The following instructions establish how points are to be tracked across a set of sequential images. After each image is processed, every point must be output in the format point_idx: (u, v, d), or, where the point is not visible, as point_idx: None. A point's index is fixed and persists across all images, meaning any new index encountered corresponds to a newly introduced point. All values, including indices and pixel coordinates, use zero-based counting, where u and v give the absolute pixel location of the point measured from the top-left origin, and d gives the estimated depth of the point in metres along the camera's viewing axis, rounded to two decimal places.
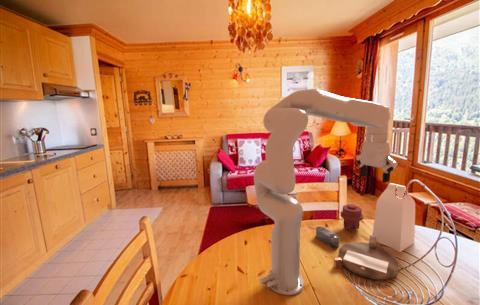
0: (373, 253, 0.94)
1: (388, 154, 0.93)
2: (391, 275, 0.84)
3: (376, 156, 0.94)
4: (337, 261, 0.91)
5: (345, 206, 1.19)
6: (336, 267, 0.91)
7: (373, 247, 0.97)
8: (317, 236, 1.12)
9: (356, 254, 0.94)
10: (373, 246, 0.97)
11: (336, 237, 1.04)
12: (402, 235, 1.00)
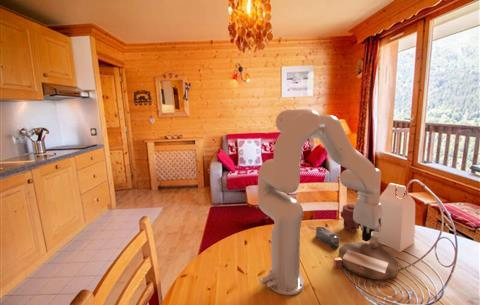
0: (373, 253, 0.94)
1: (380, 216, 0.95)
2: (390, 275, 0.83)
3: (368, 218, 0.96)
4: (337, 261, 0.91)
5: (345, 206, 1.19)
6: (336, 267, 0.91)
7: (374, 247, 0.97)
8: (317, 236, 1.12)
9: (356, 254, 0.94)
10: (374, 246, 0.97)
11: (336, 237, 1.04)
12: (402, 235, 1.00)
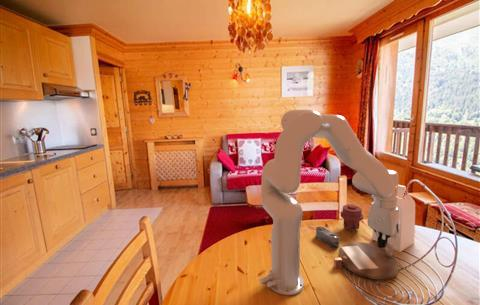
0: (378, 258, 0.91)
1: (397, 222, 0.89)
2: (365, 275, 0.84)
3: (385, 223, 0.90)
4: (337, 261, 0.91)
5: (345, 206, 1.19)
6: (336, 267, 0.91)
7: (386, 255, 0.92)
8: (317, 236, 1.12)
9: (359, 250, 0.96)
10: (386, 254, 0.92)
11: (336, 237, 1.04)
12: (402, 235, 1.00)
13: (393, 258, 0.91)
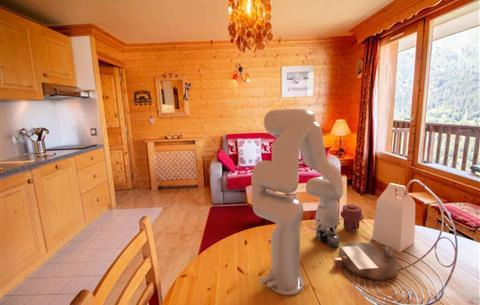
0: (378, 258, 0.91)
1: (319, 218, 1.05)
2: (365, 275, 0.84)
3: None
4: (337, 261, 0.91)
5: (345, 206, 1.19)
6: (336, 267, 0.91)
7: (386, 255, 0.92)
8: (317, 236, 1.12)
9: (359, 250, 0.96)
10: (386, 254, 0.92)
11: (336, 237, 1.04)
12: (402, 235, 1.00)
13: (393, 258, 0.91)
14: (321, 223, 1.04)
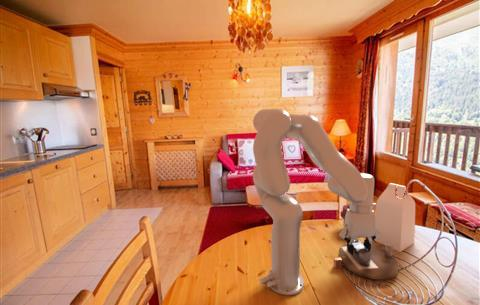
0: (378, 258, 0.91)
1: (347, 224, 0.89)
2: (365, 275, 0.84)
3: None
4: (337, 261, 0.91)
5: (345, 206, 1.19)
6: (336, 267, 0.91)
7: (386, 255, 0.92)
8: None
9: None
10: (386, 254, 0.92)
11: (366, 253, 0.86)
12: (402, 235, 1.00)
13: (393, 258, 0.91)
14: (348, 229, 0.89)
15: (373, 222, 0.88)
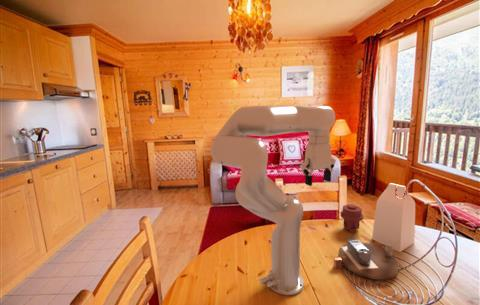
0: (378, 258, 0.91)
1: (309, 157, 0.92)
2: (365, 275, 0.84)
3: None
4: (337, 261, 0.91)
5: (345, 206, 1.19)
6: (336, 267, 0.91)
7: (386, 255, 0.92)
8: (348, 248, 0.96)
9: None
10: (386, 254, 0.92)
11: (366, 253, 0.86)
12: (402, 235, 1.00)
13: (393, 258, 0.91)
14: (311, 162, 0.91)
15: (330, 152, 0.94)
